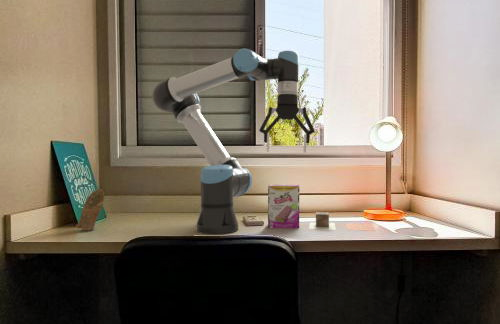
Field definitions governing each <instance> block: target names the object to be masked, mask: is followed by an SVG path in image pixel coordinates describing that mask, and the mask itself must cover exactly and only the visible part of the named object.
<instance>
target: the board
mask: <svg viewBox="0 0 500 324" xmlns="http://www.w3.org/2000/svg"><path fill="white" fill-rule="evenodd" d="M345 226H346V229H347V231H357V232H358V231H361V232H362V231H365V232H367V231H369V232H370V231H371V232H376V231H377V230H376V229H375V228H374V226H373V225H372V223H349V222H348V223H345ZM308 229H309V230H324V231H325V230H327V231H329V230H330V231H331V230H333V231H336V230H337V228H336V223H335V222H329V227H316V222H309V226H308Z"/></svg>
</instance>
